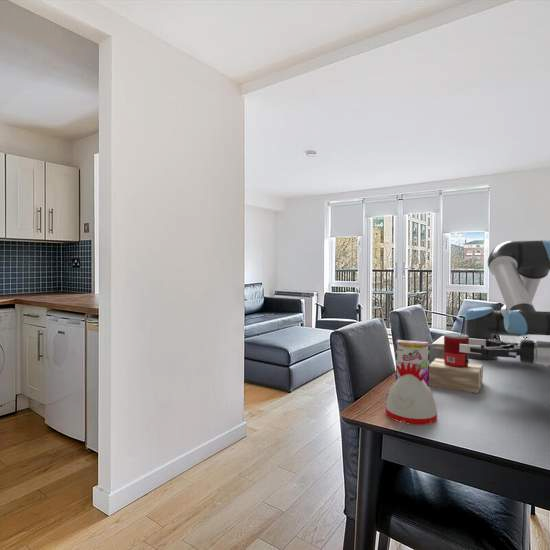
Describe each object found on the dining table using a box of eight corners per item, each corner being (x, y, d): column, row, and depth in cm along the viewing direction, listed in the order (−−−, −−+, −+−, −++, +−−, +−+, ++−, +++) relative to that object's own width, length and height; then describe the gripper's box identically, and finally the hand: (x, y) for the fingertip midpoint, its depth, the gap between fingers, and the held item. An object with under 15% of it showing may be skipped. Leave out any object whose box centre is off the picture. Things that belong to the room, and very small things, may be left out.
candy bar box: (395, 388, 131) (395, 341, 131) (395, 384, 136) (395, 339, 135) (429, 391, 127) (429, 344, 127) (428, 387, 132) (429, 341, 132)
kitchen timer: (399, 402, 117) (399, 355, 117) (444, 414, 108) (444, 363, 108) (377, 415, 107) (377, 363, 107) (424, 429, 98) (425, 372, 98)
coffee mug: (454, 368, 156) (454, 345, 156) (453, 374, 148) (453, 349, 147) (420, 364, 163) (420, 342, 163) (417, 370, 154) (417, 346, 154)
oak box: (436, 375, 146) (436, 358, 146) (482, 382, 137) (482, 364, 137) (428, 385, 135) (428, 365, 135) (478, 393, 126) (478, 372, 126)
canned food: (471, 368, 131) (471, 337, 131) (446, 367, 133) (447, 336, 132) (464, 362, 139) (465, 333, 138) (441, 361, 140) (442, 332, 140)
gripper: (534, 372, 112) (456, 362, 124) (534, 356, 132) (468, 348, 144) (534, 347, 112) (456, 339, 124) (534, 335, 132) (468, 329, 144)
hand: (462, 344), depth 134 cm, fingers open, 13 cm apart
